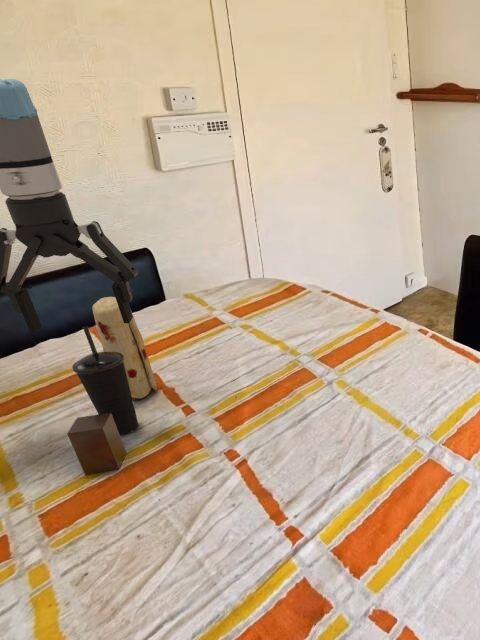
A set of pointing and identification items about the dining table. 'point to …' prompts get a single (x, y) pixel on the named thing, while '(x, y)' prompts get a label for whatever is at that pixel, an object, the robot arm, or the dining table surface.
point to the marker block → (97, 443)
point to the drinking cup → (107, 385)
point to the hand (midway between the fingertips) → (83, 325)
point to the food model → (124, 345)
